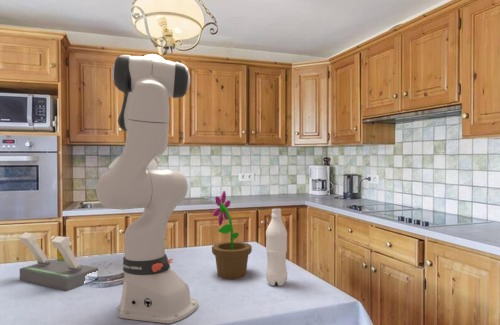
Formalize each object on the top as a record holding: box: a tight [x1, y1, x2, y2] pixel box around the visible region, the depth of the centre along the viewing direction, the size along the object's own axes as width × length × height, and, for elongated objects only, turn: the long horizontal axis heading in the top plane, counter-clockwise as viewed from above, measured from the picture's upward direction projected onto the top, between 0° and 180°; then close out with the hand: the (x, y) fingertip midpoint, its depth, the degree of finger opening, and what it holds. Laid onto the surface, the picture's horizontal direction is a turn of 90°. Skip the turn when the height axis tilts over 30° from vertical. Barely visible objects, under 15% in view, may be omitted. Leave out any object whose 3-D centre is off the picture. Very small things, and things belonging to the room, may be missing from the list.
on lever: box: [18, 231, 51, 265], centre depth 124 cm, size 4×3×13 cm, turn 65°
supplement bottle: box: [56, 236, 73, 262], centre depth 146 cm, size 5×5×10 cm
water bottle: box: [265, 208, 288, 287], centre depth 119 cm, size 7×7×25 cm
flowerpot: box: [211, 190, 253, 280], centre depth 129 cm, size 14×14×30 cm
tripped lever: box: [50, 235, 82, 271], centre depth 118 cm, size 4×3×13 cm, turn 65°
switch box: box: [19, 259, 99, 292], centre depth 124 cm, size 24×12×4 cm, turn 65°
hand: (121, 181), depth 134 cm, fingers closed
